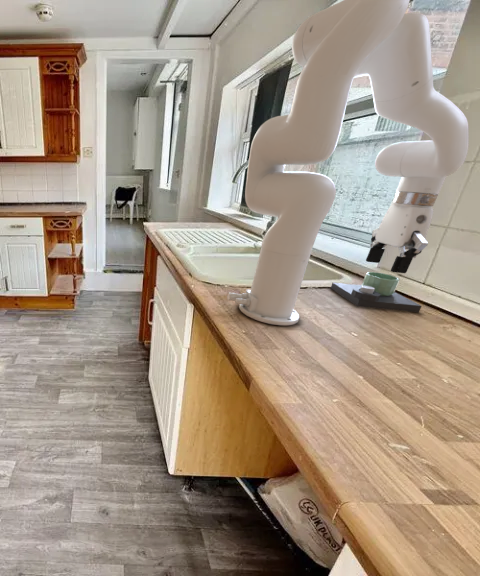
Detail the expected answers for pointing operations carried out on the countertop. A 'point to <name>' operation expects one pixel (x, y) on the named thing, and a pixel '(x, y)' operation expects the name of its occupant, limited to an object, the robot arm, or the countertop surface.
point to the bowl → (381, 282)
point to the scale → (374, 298)
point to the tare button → (367, 289)
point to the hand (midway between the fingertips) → (384, 266)
